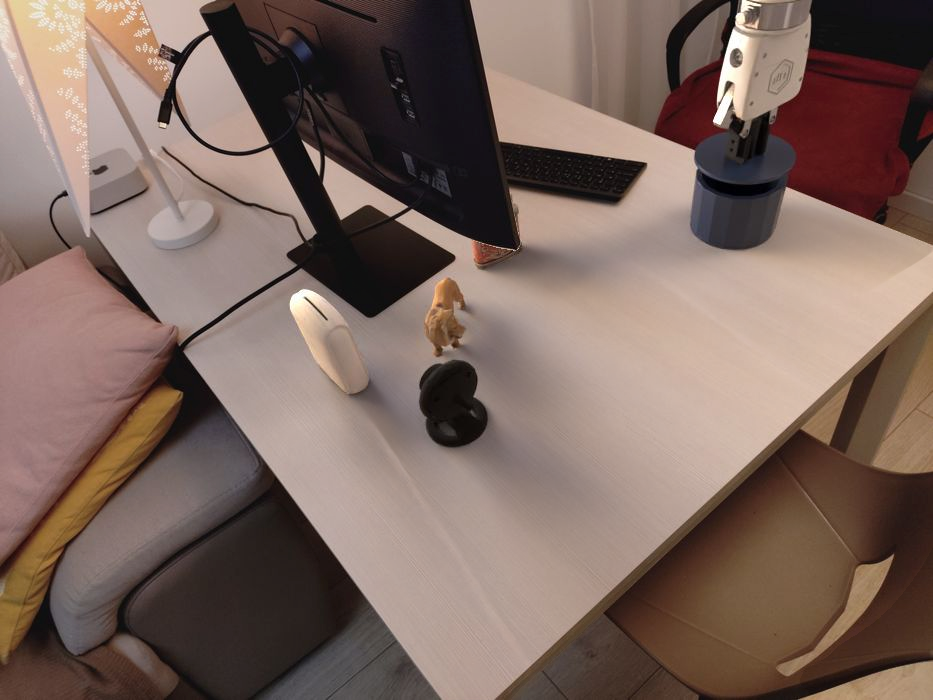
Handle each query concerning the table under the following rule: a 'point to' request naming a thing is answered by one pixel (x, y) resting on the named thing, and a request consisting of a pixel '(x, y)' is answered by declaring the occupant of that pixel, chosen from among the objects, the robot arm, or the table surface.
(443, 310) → the lion figurine
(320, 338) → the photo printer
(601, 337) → the table surface
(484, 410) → the webcam
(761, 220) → the tin
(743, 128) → the robot arm
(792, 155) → the lid
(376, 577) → the table surface
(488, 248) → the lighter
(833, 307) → the table surface
